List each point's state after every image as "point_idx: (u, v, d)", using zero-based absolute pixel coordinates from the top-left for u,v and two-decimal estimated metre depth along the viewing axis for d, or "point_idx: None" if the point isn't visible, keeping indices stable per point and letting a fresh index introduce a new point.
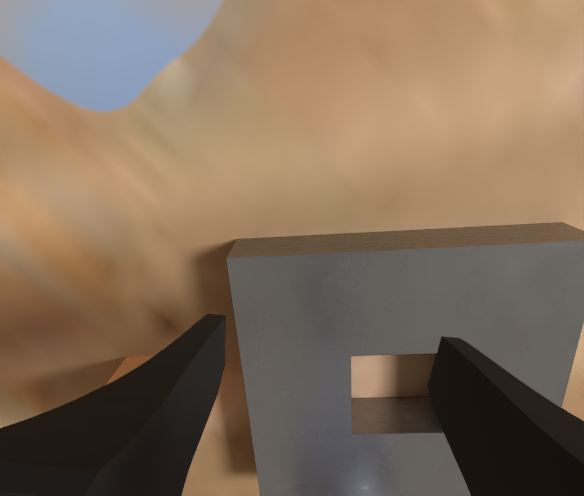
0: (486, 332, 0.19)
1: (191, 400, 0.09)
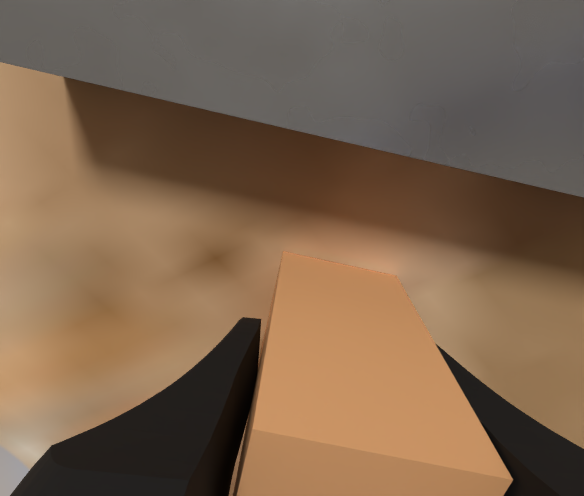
0: None
1: (237, 404, 0.09)
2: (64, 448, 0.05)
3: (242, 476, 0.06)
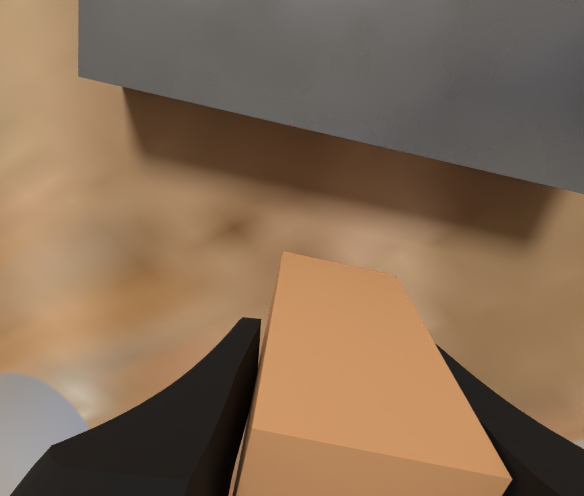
0: None
1: (237, 404, 0.09)
2: (64, 448, 0.05)
3: (242, 475, 0.06)
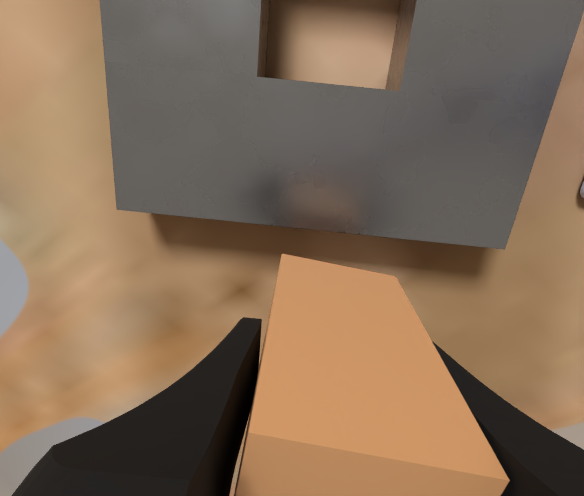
0: None
1: (238, 405, 0.09)
2: (65, 448, 0.05)
3: (240, 479, 0.06)
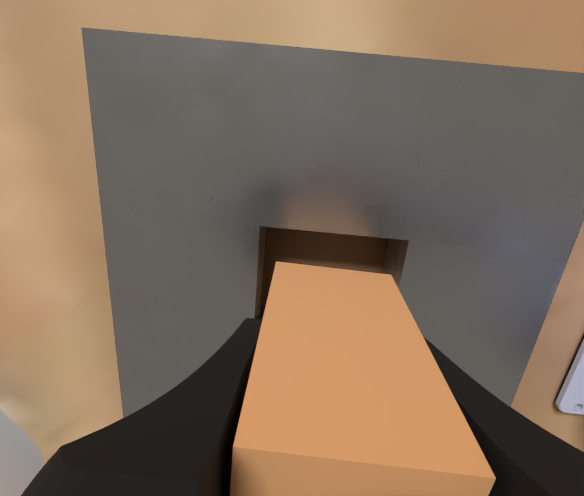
0: (228, 189, 0.14)
1: None
2: (74, 449, 0.05)
3: (231, 492, 0.06)
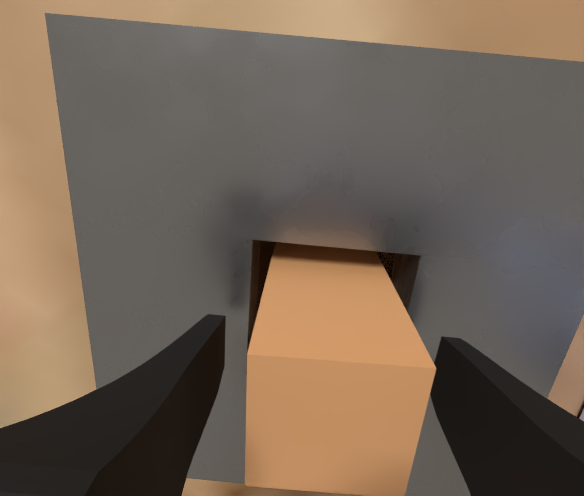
0: (217, 197, 0.12)
1: (191, 400, 0.09)
2: None
3: (247, 391, 0.09)
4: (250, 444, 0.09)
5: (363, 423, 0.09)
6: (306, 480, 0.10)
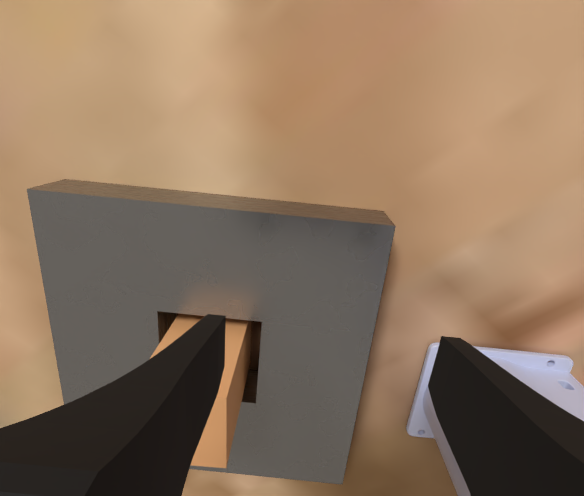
0: (133, 287, 0.20)
1: (191, 400, 0.09)
2: None
3: None
4: None
5: None
6: None
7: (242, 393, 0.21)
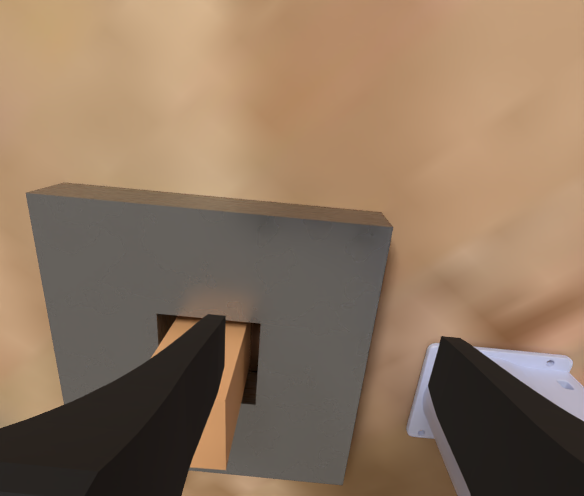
0: (132, 290, 0.20)
1: (191, 400, 0.09)
2: None
3: None
4: None
5: None
6: None
7: (242, 395, 0.22)
